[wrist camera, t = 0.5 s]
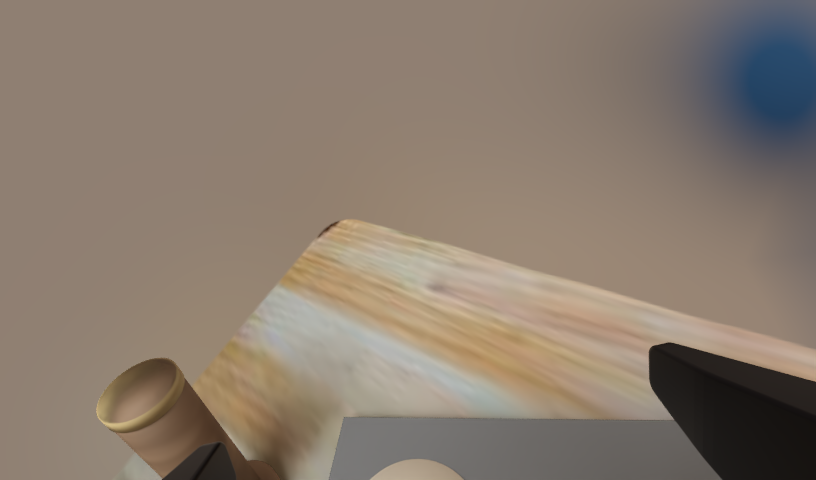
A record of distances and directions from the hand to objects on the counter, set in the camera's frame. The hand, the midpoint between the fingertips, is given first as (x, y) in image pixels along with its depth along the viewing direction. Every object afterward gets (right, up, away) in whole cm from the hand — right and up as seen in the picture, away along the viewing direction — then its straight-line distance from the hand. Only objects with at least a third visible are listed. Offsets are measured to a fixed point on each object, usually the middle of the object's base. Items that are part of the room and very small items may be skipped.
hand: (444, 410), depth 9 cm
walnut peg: (-10, -12, +15) cm, 22 cm away
